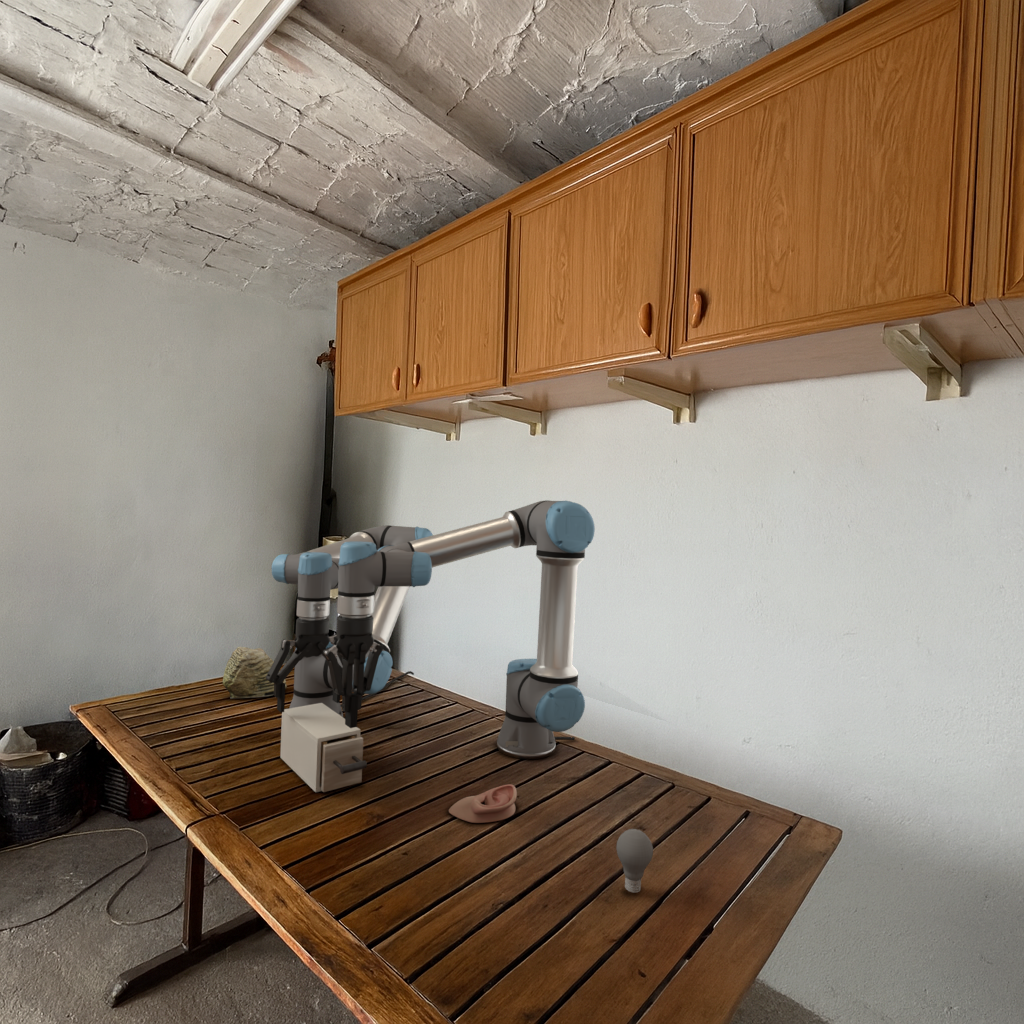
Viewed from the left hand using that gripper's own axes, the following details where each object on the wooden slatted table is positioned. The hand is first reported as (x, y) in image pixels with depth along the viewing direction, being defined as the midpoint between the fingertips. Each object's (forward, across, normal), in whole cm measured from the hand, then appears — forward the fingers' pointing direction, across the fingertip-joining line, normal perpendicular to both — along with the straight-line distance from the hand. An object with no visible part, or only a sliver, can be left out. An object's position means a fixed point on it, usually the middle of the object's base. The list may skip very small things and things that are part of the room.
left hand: (309, 706), depth 151 cm
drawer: (+12, 0, -12) cm, 17 cm away
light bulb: (+13, +25, -79) cm, 84 cm away
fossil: (+13, +5, +56) cm, 58 cm away
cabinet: (+13, 0, -6) cm, 14 cm away
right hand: (-2, 0, -22) cm, 22 cm away
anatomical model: (+13, +20, -44) cm, 50 cm away
